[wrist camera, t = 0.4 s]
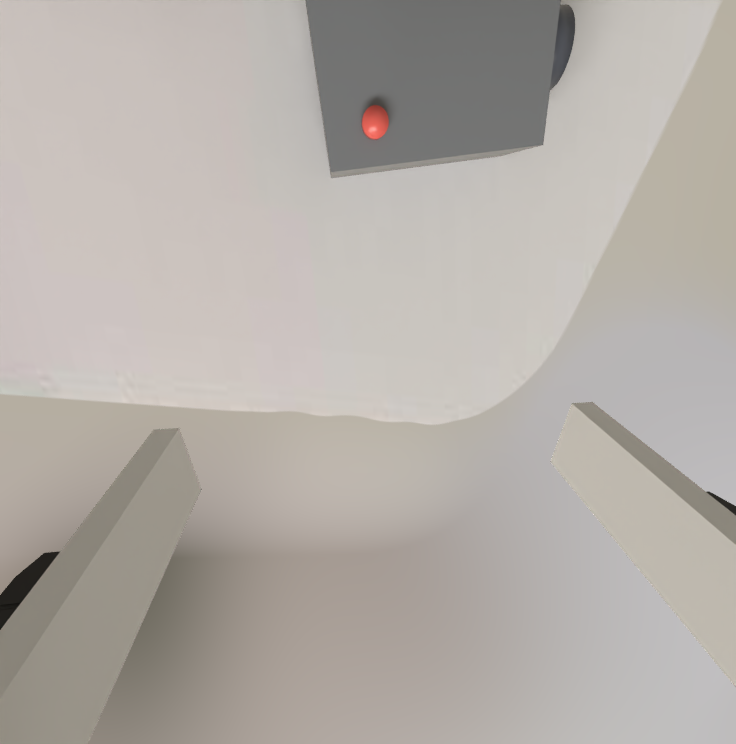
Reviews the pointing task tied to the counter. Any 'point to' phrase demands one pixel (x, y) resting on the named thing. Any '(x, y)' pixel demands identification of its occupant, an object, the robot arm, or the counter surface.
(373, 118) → the camera body
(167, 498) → the robot arm
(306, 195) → the counter surface
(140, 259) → the counter surface
